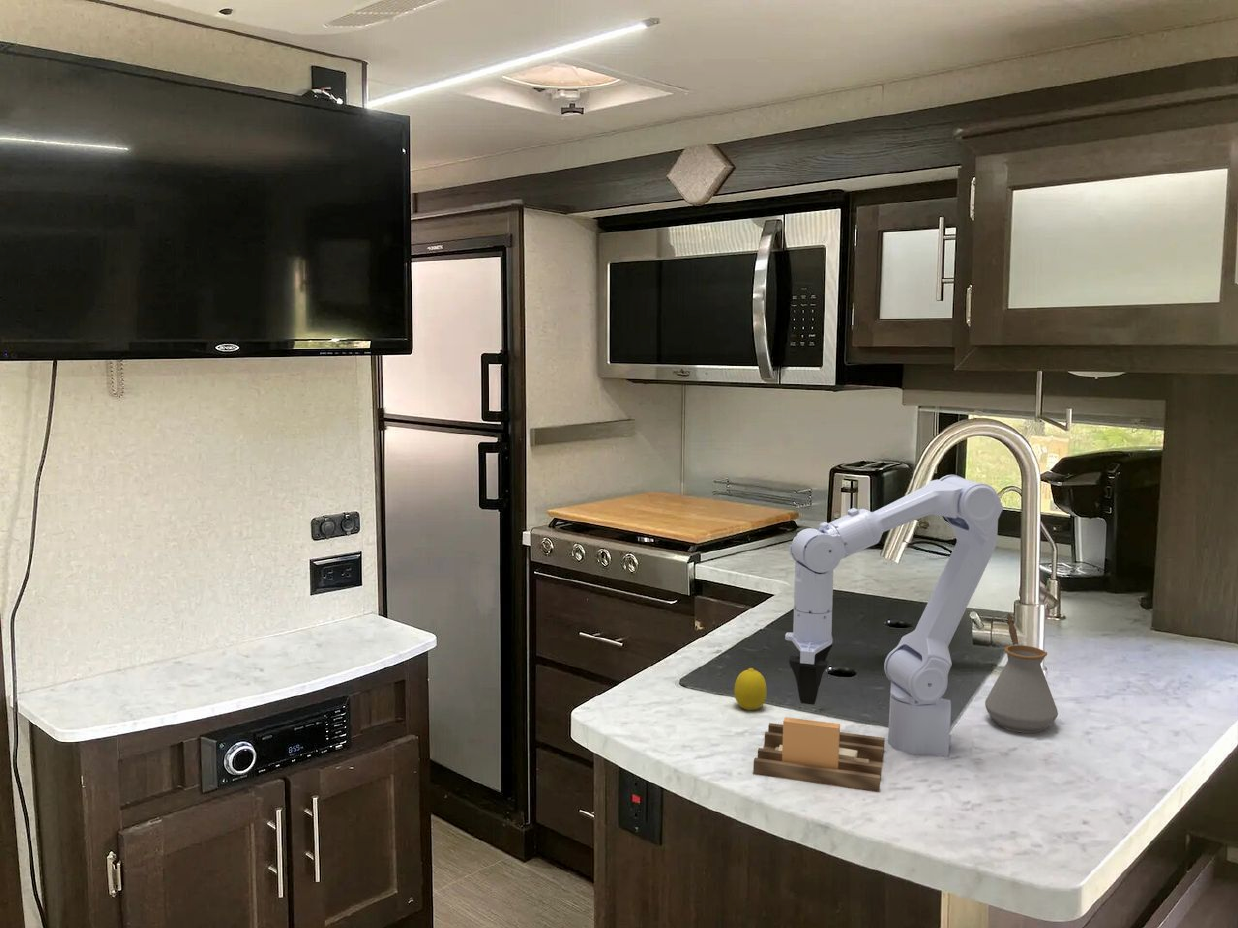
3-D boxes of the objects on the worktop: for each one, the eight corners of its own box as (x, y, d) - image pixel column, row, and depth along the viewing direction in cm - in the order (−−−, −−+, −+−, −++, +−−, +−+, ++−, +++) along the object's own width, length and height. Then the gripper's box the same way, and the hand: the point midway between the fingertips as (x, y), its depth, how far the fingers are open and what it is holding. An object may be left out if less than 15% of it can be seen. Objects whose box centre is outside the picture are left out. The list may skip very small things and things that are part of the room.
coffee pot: (1064, 740, 160) (1070, 651, 158) (989, 734, 163) (995, 646, 161) (1036, 693, 181) (1042, 614, 179) (970, 688, 183) (975, 610, 181)
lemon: (744, 703, 175) (745, 660, 174) (772, 711, 171) (773, 667, 170) (727, 713, 171) (728, 668, 169) (755, 721, 167) (756, 675, 166)
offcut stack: (868, 762, 149) (869, 749, 149) (867, 772, 146) (867, 759, 146) (776, 750, 153) (776, 737, 153) (772, 759, 150) (773, 746, 150)
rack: (884, 752, 155) (885, 734, 155) (878, 798, 140) (879, 778, 140) (770, 737, 160) (770, 720, 160) (752, 780, 145) (753, 760, 145)
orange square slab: (837, 775, 145) (839, 723, 144) (836, 780, 143) (838, 728, 142) (783, 768, 147) (784, 717, 146) (781, 772, 146) (783, 721, 145)
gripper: (792, 593, 158) (789, 675, 160) (780, 619, 144) (777, 708, 146) (837, 597, 156) (834, 679, 158) (829, 623, 142) (826, 713, 144)
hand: (810, 694), depth 152 cm, fingers open, 7 cm apart
